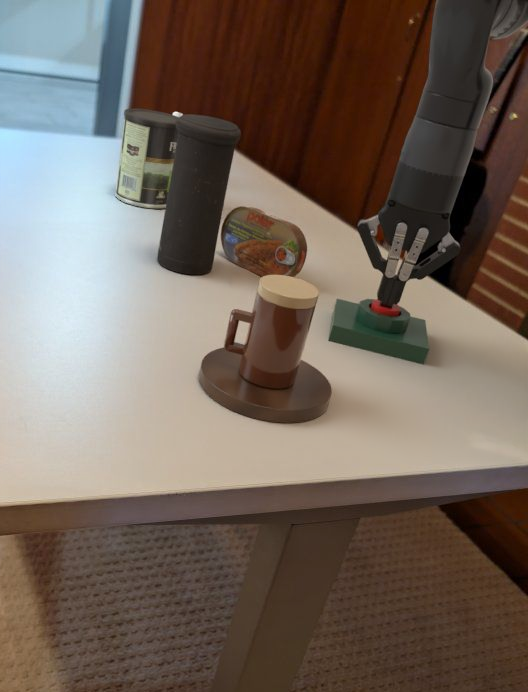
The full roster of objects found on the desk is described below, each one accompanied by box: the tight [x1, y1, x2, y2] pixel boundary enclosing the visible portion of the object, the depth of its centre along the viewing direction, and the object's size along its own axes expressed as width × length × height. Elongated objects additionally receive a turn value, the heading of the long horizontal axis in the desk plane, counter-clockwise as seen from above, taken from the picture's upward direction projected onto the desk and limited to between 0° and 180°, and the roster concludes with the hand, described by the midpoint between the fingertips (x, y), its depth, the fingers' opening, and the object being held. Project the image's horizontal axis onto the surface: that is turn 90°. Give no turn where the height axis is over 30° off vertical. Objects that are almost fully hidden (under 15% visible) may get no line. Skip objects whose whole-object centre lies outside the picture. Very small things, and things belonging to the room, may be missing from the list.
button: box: [370, 298, 401, 317], centre depth 96 cm, size 4×4×2 cm
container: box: [156, 113, 242, 275], centre depth 103 cm, size 9×9×20 cm
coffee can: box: [114, 108, 179, 210], centre depth 130 cm, size 10×10×14 cm
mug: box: [223, 275, 320, 389], centre depth 77 cm, size 8×6×10 cm
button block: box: [327, 298, 430, 365], centre depth 97 cm, size 12×10×4 cm
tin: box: [220, 205, 308, 278], centre depth 110 cm, size 15×3×8 cm, turn 42°
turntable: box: [198, 346, 333, 424], centre depth 80 cm, size 14×14×2 cm
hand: (386, 304), depth 95 cm, fingers closed
